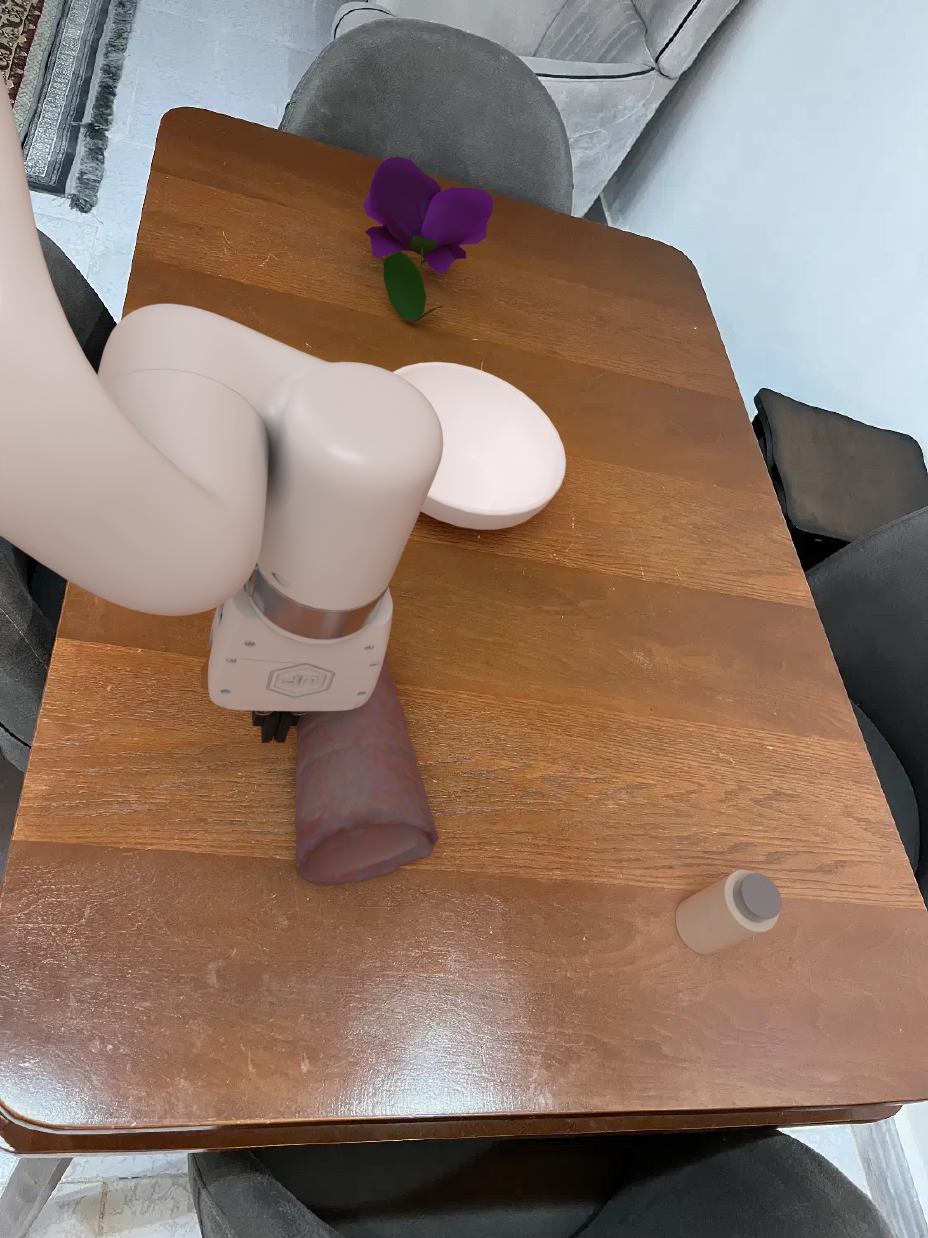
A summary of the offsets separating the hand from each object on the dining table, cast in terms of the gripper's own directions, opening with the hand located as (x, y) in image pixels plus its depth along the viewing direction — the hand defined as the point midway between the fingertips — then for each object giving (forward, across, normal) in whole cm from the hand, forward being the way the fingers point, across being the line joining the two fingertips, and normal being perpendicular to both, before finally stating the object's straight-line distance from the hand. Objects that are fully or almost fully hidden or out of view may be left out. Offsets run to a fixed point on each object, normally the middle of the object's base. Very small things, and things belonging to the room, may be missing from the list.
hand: (272, 724), depth 60 cm
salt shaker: (+3, +33, -16) cm, 37 cm away
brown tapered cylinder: (+3, +6, 0) cm, 7 cm away
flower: (+3, +19, +58) cm, 61 cm away
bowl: (+3, +19, +28) cm, 34 cm away
